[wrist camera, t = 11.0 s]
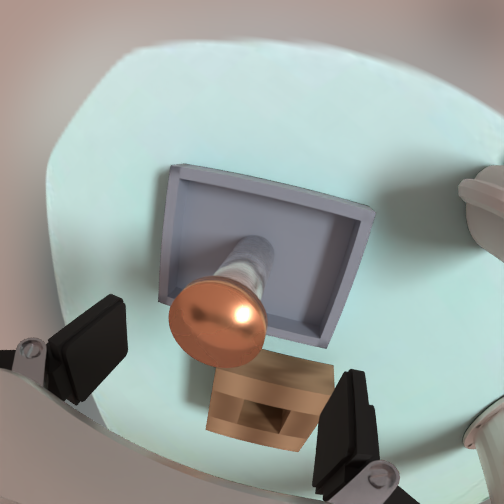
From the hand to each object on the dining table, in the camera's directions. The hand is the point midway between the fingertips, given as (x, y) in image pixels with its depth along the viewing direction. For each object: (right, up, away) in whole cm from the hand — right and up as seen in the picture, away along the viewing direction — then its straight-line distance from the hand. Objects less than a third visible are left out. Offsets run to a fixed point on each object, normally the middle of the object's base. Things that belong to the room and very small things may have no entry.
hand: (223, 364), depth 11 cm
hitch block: (+3, -9, +16) cm, 19 cm away
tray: (+2, +4, +11) cm, 12 cm away
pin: (+1, +4, +11) cm, 12 cm away
